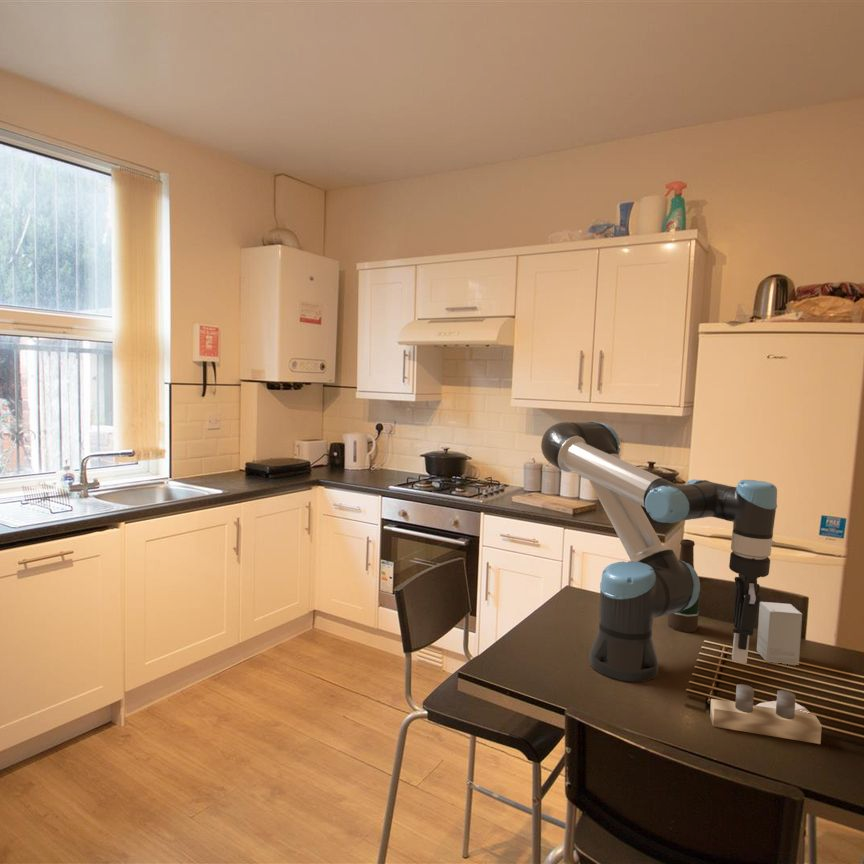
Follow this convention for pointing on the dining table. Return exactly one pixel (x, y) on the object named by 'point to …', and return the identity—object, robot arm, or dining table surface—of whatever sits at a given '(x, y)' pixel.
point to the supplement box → (779, 633)
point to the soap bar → (773, 705)
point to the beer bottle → (689, 617)
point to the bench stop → (765, 716)
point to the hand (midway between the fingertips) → (739, 660)
